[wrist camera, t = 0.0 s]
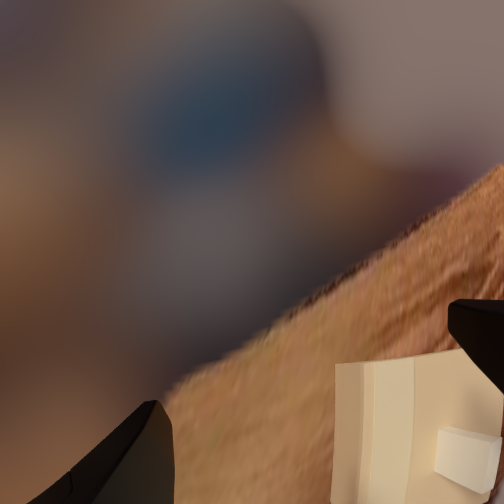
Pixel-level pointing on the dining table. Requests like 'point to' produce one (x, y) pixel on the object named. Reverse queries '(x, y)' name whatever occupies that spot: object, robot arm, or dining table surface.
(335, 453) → the carton
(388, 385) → the carton lid
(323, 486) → the dining table surface
